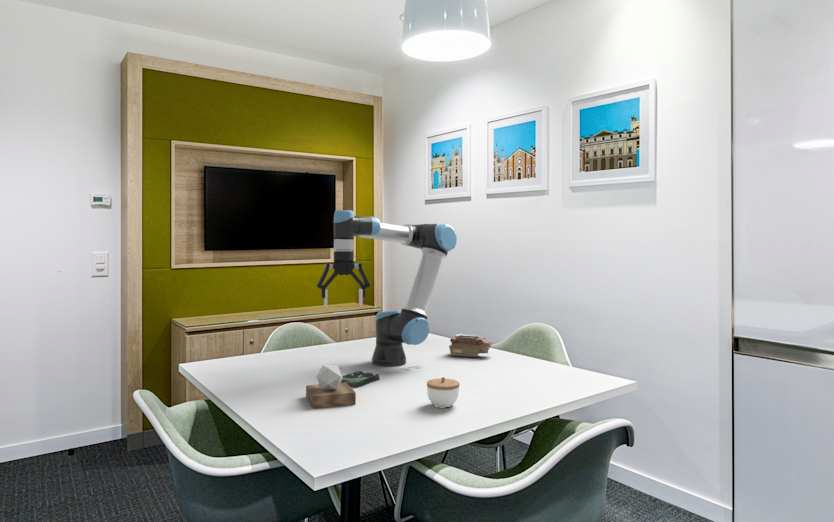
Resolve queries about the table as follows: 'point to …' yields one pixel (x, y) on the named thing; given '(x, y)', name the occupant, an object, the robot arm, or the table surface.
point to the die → (329, 377)
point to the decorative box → (469, 345)
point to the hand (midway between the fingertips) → (343, 306)
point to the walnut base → (330, 396)
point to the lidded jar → (442, 391)
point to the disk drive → (359, 378)
